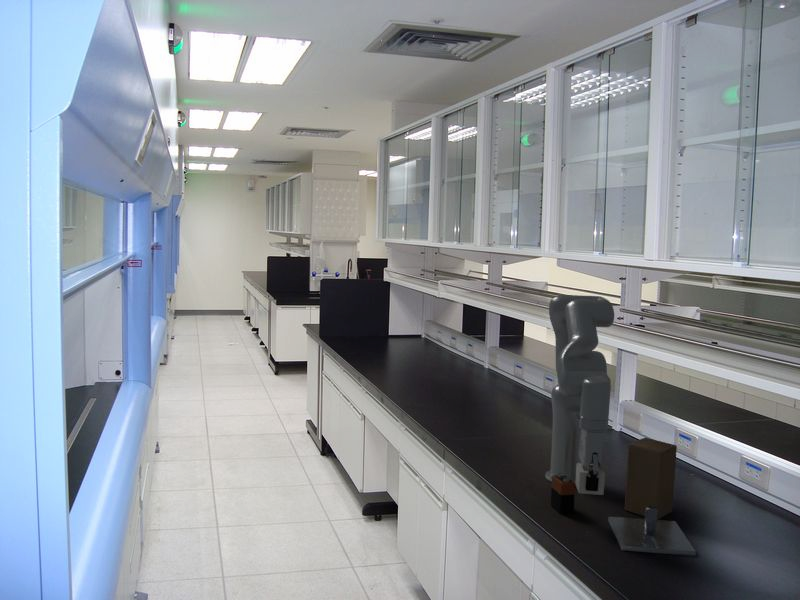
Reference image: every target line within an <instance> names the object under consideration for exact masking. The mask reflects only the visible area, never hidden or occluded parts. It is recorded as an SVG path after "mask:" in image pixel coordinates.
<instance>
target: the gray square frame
mask: <svg viewBox="0 0 800 600" xmlns="http://www.w3.org/2000/svg"><path fill="white" fill-rule="evenodd" d="M590 465H593V464H590ZM591 470H593V468H590V471H591ZM586 476H588V466H586V467H585V466H583V464H582V462H581V463H577V465H576V480H575V484H576V486H575V488H576V489H577V493H578V494H583V495H585V494H586V495H595V496H596V495H599V496H603V495H604V494H605V492H604V491H605V481H606V479H605V478H606V473H605V471H604V466H602V465H601V467H599V482H598V491H587V490H586Z"/></svg>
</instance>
